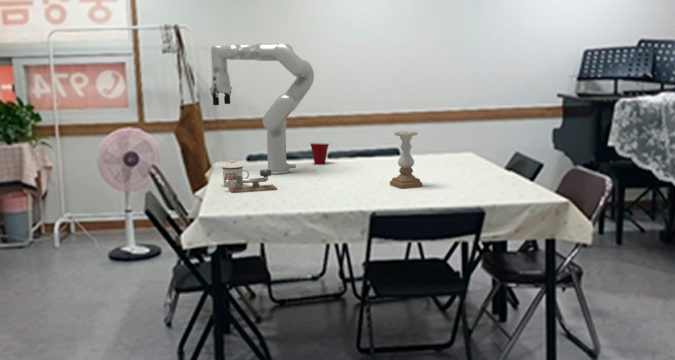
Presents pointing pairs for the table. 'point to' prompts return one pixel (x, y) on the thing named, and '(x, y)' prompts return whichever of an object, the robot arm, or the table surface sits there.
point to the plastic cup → (319, 152)
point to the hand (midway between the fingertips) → (221, 104)
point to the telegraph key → (255, 187)
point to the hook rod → (262, 173)
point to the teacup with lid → (232, 172)
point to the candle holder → (406, 164)
